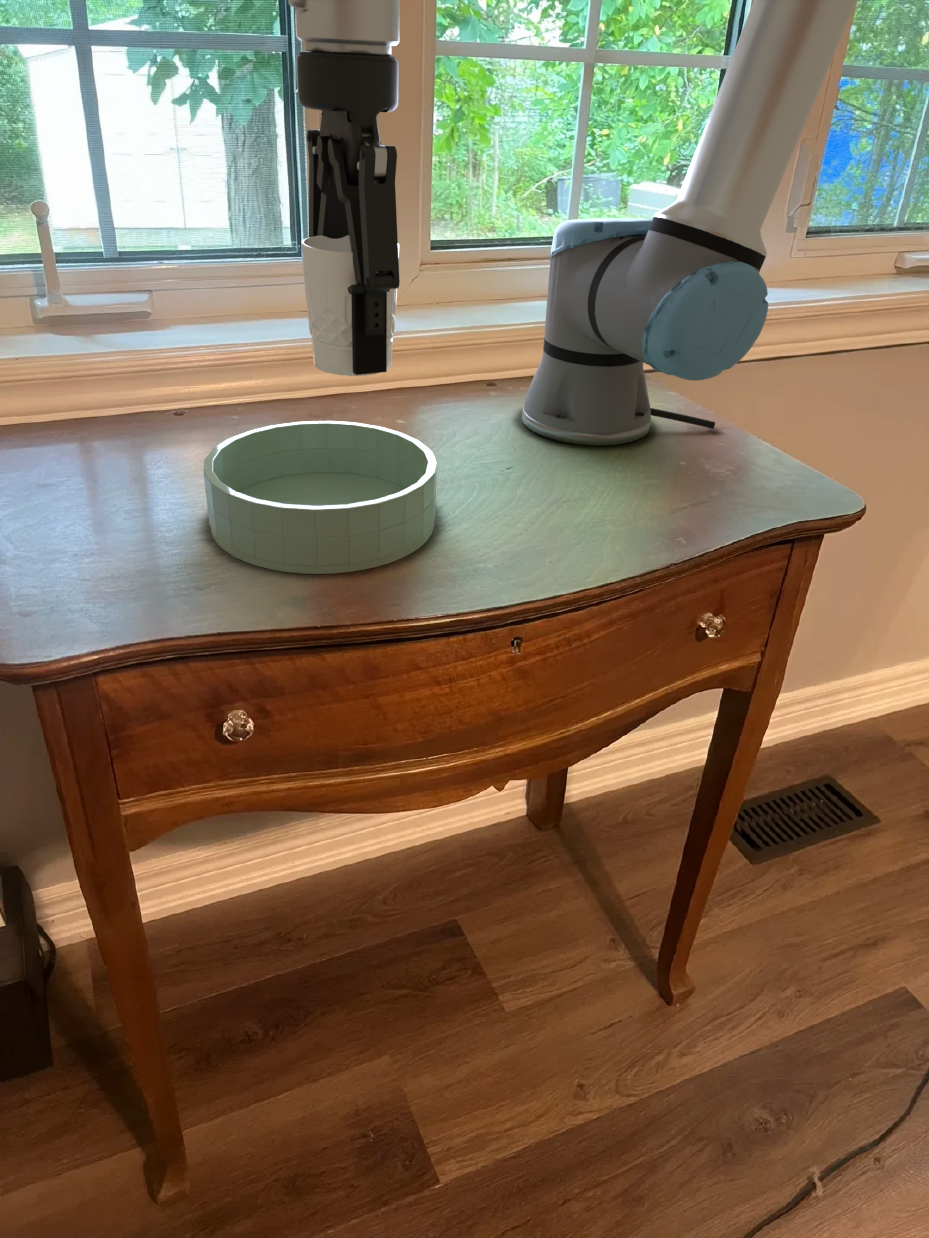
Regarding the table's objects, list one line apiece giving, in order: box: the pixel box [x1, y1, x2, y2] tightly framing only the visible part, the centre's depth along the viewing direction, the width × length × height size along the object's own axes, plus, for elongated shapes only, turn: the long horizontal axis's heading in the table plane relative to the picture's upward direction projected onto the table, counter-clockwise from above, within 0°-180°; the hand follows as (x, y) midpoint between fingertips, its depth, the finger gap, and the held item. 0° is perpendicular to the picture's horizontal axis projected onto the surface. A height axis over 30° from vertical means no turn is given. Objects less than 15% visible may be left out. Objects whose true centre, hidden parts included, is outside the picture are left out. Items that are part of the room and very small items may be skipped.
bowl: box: [203, 420, 438, 575], centre depth 86 cm, size 21×21×6 cm
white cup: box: [300, 235, 400, 377], centre depth 79 cm, size 8×8×10 cm
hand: (352, 357), depth 81 cm, fingers closed on white cup, 8 cm apart
